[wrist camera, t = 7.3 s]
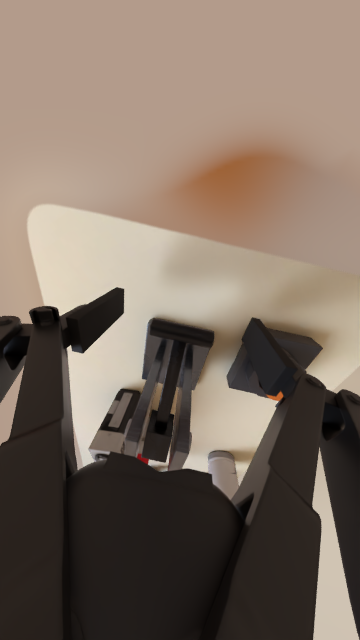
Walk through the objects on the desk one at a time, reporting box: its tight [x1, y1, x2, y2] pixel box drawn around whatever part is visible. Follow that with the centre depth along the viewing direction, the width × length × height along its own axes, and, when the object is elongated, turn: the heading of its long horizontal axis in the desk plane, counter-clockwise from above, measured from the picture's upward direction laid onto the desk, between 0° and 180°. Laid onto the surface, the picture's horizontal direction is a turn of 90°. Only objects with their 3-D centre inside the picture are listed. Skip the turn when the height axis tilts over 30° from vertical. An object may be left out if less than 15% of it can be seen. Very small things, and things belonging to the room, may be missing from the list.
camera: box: [89, 389, 150, 462], centre depth 28 cm, size 14×8×10 cm, turn 177°
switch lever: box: [141, 318, 214, 463], centre depth 13 cm, size 12×5×2 cm, turn 170°
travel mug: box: [208, 451, 239, 500], centre depth 28 cm, size 6×7×20 cm
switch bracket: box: [124, 319, 210, 471], centre depth 18 cm, size 11×9×13 cm
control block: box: [227, 328, 323, 398], centre depth 21 cm, size 10×8×4 cm
